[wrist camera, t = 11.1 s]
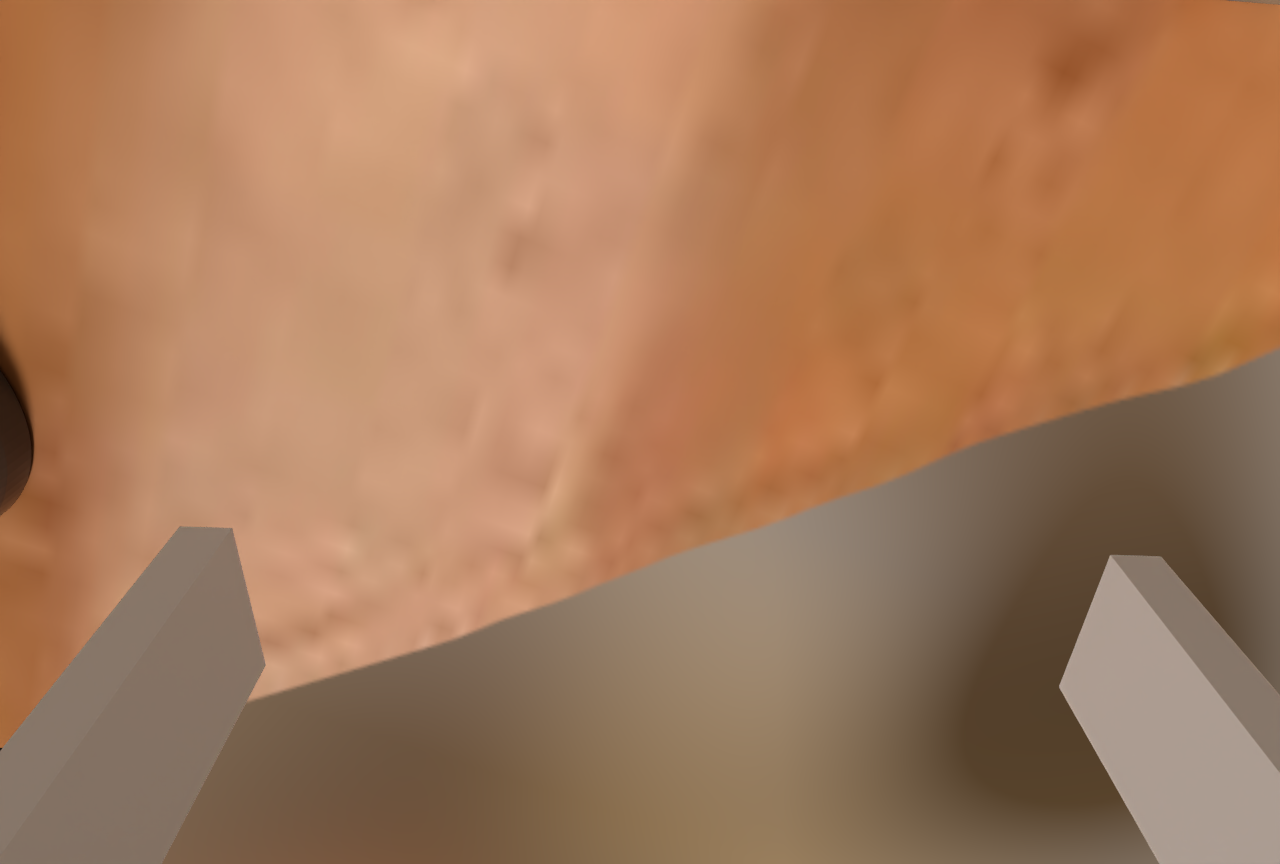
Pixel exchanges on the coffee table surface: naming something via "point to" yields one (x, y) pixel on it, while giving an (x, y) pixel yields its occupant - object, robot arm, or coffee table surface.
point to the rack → (1261, 1)
